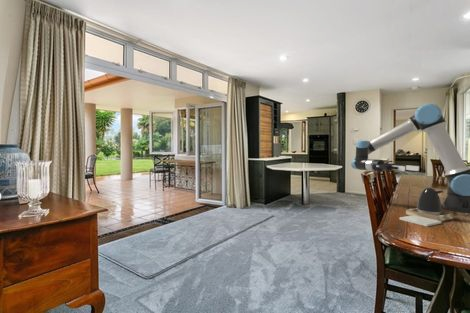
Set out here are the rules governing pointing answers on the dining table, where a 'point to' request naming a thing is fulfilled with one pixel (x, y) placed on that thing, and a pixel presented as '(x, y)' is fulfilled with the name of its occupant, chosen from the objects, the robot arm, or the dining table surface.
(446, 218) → the square picture frame
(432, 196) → the black tall egg-shaped piece
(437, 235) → the dining table surface
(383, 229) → the dining table surface
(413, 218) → the ceramic tile
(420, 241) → the dining table surface
